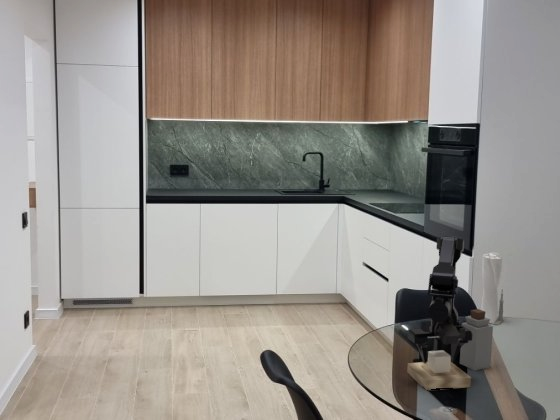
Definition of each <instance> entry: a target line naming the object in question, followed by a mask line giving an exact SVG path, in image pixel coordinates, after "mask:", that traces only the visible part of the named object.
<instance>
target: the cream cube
mask: <svg viewBox="0 0 560 420" xmlns="http://www.w3.org/2000/svg"><path fill="white" fill-rule="evenodd" d="M427 362H428V366H427V367H428V368H429V369H430V370H431V371H433V372H434V373H444V372H450V362H452V359H451V355H449V354H447V353H446V352H445V351H444V350H441V351H435V350H430V351H427Z"/></svg>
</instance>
